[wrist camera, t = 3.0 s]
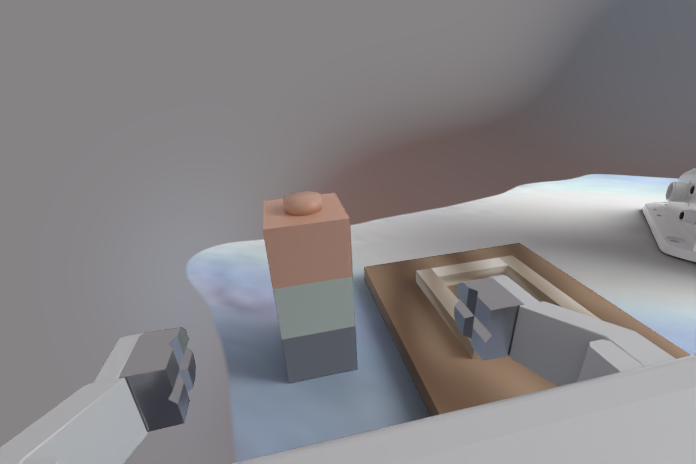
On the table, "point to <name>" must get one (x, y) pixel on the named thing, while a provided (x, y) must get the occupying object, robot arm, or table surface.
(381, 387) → the table surface
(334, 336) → the brick tower
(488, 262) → the socket board
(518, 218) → the table surface
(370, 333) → the table surface
